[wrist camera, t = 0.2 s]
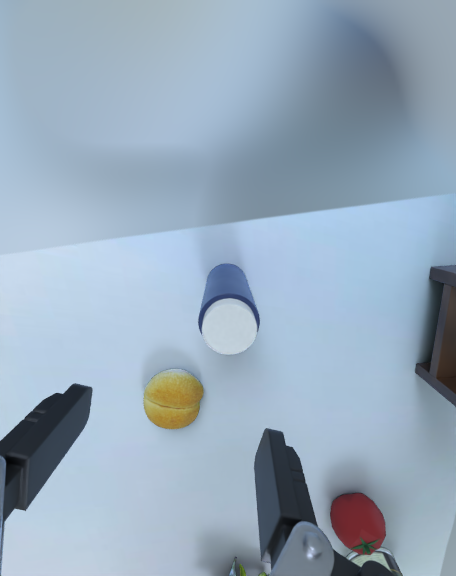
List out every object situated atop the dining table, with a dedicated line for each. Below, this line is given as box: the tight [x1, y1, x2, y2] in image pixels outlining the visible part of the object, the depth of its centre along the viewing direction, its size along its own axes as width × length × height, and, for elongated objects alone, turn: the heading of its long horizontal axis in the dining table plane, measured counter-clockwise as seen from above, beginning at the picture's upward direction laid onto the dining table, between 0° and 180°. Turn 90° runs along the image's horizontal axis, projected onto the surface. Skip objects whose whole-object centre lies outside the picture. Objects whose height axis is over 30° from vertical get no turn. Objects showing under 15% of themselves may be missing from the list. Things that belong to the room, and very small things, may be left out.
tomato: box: [330, 493, 386, 555], centre depth 42 cm, size 8×8×7 cm
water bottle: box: [198, 264, 260, 355], centre depth 27 cm, size 5×5×14 cm
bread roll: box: [144, 369, 204, 429], centre depth 37 cm, size 8×9×4 cm
